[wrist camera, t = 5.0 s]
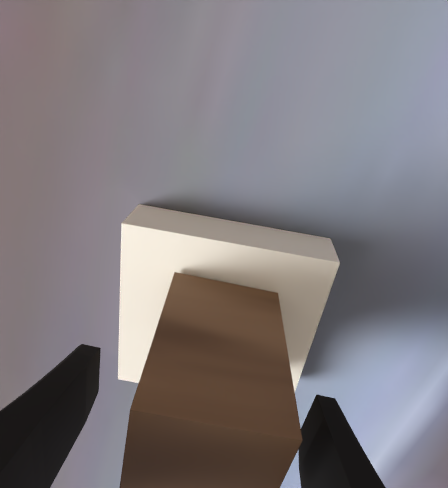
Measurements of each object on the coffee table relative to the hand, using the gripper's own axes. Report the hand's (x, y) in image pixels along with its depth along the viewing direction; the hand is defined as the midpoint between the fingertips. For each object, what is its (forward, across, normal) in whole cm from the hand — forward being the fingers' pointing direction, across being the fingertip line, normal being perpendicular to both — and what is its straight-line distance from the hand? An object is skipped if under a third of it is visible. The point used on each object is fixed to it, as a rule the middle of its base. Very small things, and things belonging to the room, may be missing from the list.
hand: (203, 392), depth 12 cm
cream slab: (+6, 0, 0) cm, 6 cm away
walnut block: (+3, 0, 0) cm, 3 cm away
